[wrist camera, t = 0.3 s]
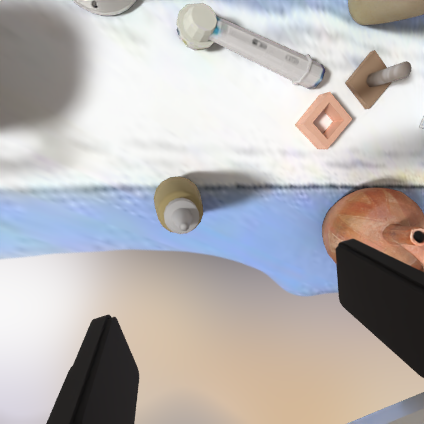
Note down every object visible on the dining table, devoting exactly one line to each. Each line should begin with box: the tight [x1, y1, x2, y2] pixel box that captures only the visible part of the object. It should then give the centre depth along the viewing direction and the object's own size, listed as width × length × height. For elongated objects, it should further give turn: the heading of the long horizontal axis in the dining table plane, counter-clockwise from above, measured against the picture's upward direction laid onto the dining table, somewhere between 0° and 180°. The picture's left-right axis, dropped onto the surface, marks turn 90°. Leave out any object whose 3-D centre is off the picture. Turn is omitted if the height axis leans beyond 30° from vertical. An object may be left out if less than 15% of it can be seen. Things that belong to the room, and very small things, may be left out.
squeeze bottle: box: [154, 177, 203, 234], centre depth 36 cm, size 8×8×18 cm
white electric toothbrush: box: [177, 3, 325, 89], centre depth 39 cm, size 5×7×25 cm
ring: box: [295, 92, 352, 149], centre depth 45 cm, size 7×7×3 cm
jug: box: [322, 188, 424, 272], centre depth 44 cm, size 18×18×20 cm
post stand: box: [345, 50, 411, 109], centre depth 42 cm, size 7×7×8 cm
